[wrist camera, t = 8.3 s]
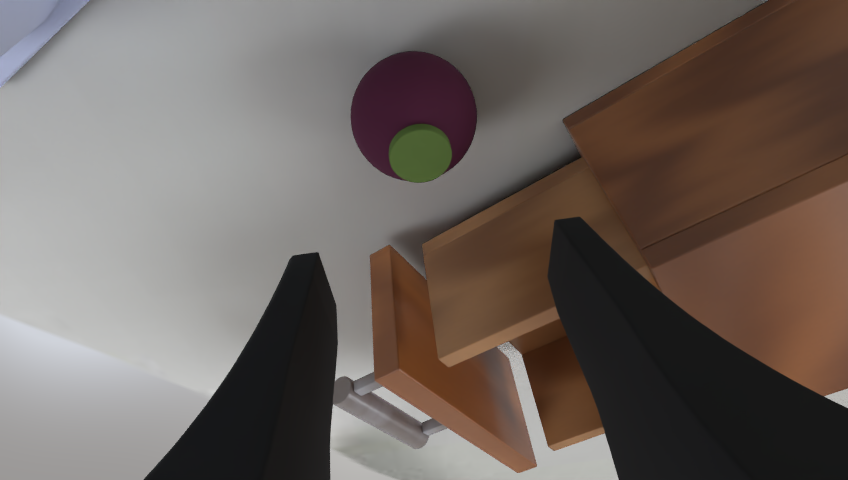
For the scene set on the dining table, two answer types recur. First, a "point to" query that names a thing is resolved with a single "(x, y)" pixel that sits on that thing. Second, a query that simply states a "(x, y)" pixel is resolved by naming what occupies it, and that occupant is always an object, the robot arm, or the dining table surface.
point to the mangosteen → (413, 116)
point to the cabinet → (742, 182)
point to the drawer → (485, 326)
